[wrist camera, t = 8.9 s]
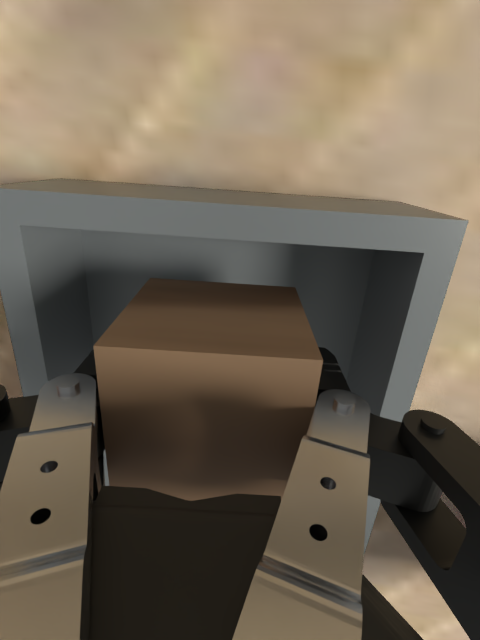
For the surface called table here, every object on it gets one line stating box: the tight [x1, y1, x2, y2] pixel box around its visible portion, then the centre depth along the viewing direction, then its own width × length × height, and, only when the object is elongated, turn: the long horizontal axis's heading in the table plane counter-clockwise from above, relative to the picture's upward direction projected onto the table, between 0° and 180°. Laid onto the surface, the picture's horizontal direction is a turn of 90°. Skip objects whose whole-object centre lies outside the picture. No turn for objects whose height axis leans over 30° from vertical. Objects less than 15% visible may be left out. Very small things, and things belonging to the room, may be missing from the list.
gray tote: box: [0, 179, 468, 556], centre depth 16 cm, size 18×14×5 cm
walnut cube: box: [93, 278, 323, 501], centre depth 11 cm, size 5×5×5 cm
